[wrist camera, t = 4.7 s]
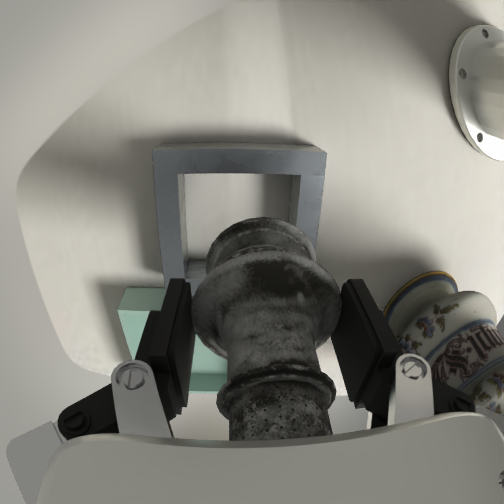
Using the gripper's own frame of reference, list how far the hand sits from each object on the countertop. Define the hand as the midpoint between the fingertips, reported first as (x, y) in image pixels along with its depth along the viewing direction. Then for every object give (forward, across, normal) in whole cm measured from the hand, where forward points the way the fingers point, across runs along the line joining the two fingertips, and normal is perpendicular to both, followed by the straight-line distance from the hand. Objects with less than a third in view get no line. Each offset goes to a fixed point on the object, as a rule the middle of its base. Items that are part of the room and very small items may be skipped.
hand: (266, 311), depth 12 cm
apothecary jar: (+12, -18, +11) cm, 24 cm away
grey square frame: (+11, +1, +1) cm, 11 cm away
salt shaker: (+3, 0, 0) cm, 3 cm away
